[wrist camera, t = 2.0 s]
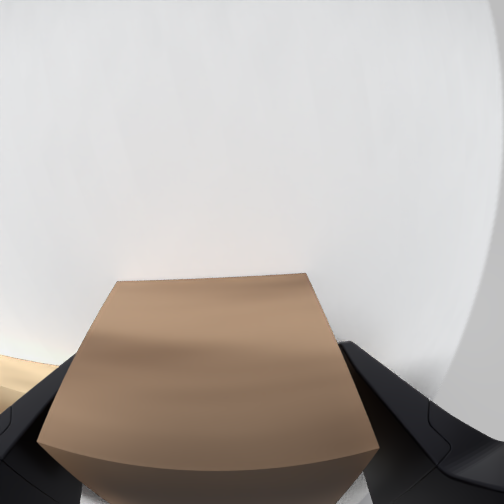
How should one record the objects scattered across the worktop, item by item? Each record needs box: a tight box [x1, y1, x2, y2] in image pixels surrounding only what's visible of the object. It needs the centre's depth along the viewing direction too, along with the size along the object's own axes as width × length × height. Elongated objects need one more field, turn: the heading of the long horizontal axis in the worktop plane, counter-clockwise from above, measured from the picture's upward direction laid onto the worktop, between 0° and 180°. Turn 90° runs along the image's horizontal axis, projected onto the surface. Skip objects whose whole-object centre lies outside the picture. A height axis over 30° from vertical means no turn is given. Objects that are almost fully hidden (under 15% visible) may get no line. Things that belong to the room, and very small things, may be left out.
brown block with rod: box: [37, 273, 380, 504], centre depth 8 cm, size 11×6×6 cm, turn 1°
